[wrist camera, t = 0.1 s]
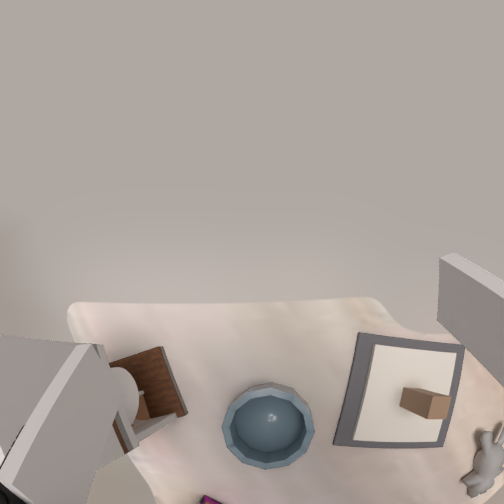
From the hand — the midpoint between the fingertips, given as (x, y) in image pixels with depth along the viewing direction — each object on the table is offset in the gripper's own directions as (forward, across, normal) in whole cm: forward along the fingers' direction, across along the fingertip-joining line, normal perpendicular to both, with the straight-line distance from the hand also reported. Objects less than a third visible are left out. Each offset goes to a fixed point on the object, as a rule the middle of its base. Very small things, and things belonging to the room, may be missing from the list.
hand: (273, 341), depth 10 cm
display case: (+27, +22, +24) cm, 43 cm away
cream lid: (+20, -17, +32) cm, 42 cm away
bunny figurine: (+9, -32, +50) cm, 60 cm away
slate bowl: (+22, +4, +30) cm, 38 cm away
